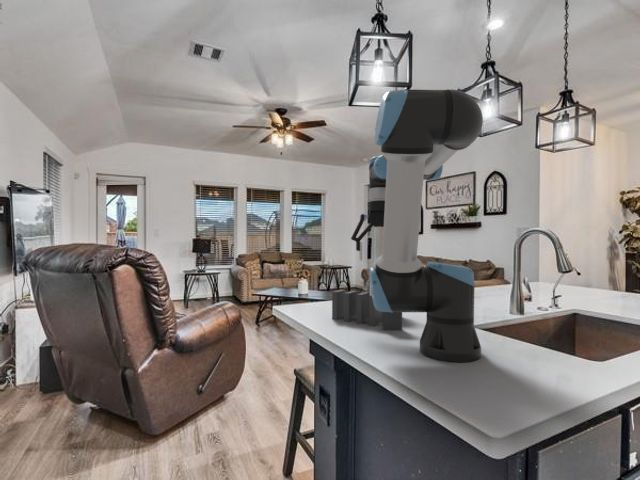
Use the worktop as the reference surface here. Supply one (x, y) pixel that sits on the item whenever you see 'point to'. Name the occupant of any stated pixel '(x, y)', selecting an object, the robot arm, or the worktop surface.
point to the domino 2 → (350, 306)
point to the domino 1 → (338, 304)
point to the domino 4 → (374, 314)
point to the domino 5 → (392, 321)
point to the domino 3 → (362, 307)
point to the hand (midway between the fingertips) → (379, 260)
